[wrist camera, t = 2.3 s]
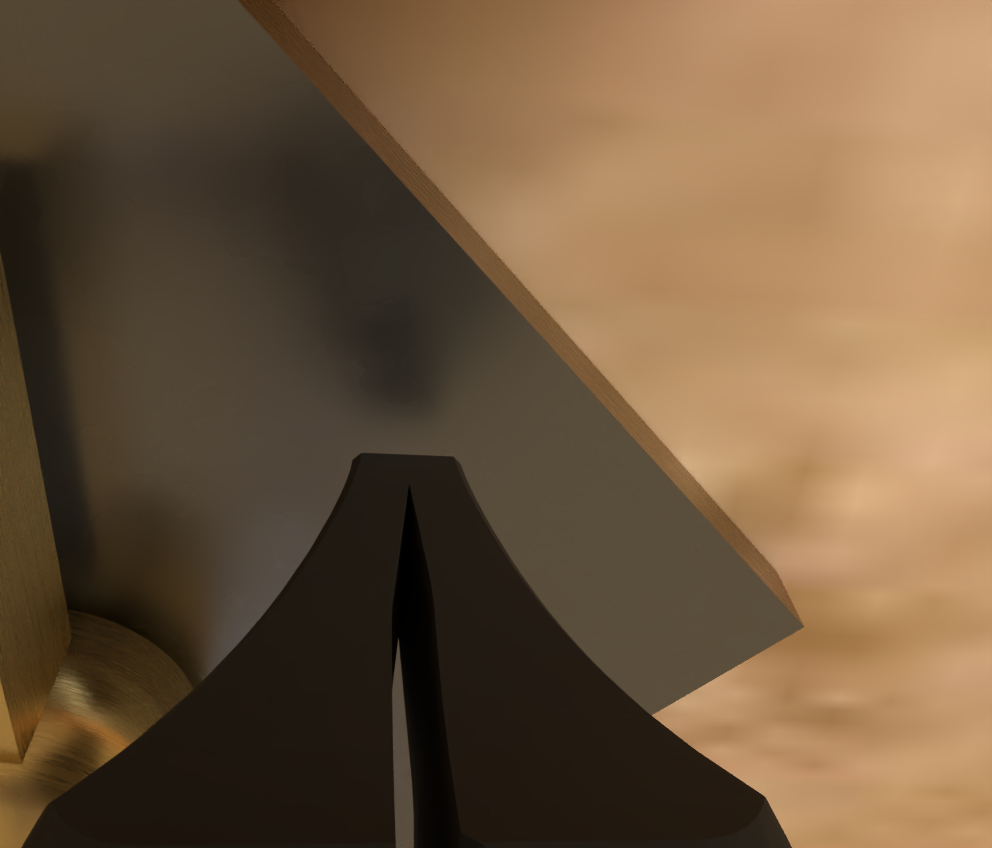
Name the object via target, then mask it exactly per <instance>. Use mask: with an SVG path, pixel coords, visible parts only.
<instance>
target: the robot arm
mask: <svg viewBox="0 0 992 848" xmlns="http://www.w3.org/2000/svg"><path fill="white" fill-rule="evenodd" d="M398 638H399V650H400V661H401V672H402V683H403V694H404V704H405V715H406V725H407V736H408V747H409V757H410V768H411V779H412V794H413V813H414V848H792V847H791V845H790V843H789V841H788V839H787V837H786V835H785V833H784V831H783V829H782V827H781V826H780V824H779V822H778V820H777V818H776V816H775V814H774V812H773V811H772V809H771V807H770V805H769V803H768V801H767V799H766V798H765V797H764V796H763V795H762V794H760V793H759V792H757V791H756V790H754V789H753V788H751V787H750V786H748V785H747V784H745V783H744V782H742V781H741V780H739V779H738V778H736V777H735V776H733V775H732V774H730V773H729V772H727V771H726V770H724V769H723V768H721V767H720V766H718V765H717V764H715V763H714V762H713V761H711V760H710V759H708V758H707V757H705V756H704V755H702V754H701V753H699V752H698V751H696V750H695V749H694V748H692V747H691V746H690V745H688V744H687V743H686V742H684V741H683V740H682V739H681V738H679V737H678V736H677V735H675V734H674V733H673V732H672V731H670V730H669V729H668V728H666V727H665V726H664V725H663V724H661V723H660V722H659V721H658V720H656V719H655V718H654V717H653V716H651V715H650V714H649V713H648V712H647V711H645V710H644V709H643V708H642V707H641V706H640V705H639V704H638V703H637V702H636V701H634V700H633V699H632V698H631V697H630V696H629V695H628V694H627V693H626V692H625V691H623V690H622V689H621V688H620V687H619V686H618V685H617V684H616V683H615V682H614V681H612V680H611V679H610V678H609V677H608V676H607V675H606V674H605V673H604V672H603V671H602V670H601V669H600V668H599V667H598V666H597V665H596V664H595V663H594V662H593V661H592V660H591V659H590V658H589V657H588V655H587V654H586V653H585V652H584V651H583V650H582V649H581V648H580V647H579V646H578V645H577V644H576V642H575V641H574V640H573V639H572V638H571V637H570V636H569V635H568V633H567V632H566V631H565V630H564V629H563V628H562V627H561V625H560V624H559V623H558V622H557V621H556V619H555V618H554V617H553V616H552V614H551V613H550V612H549V611H548V609H547V608H546V607H545V606H544V604H543V603H542V602H541V600H540V599H539V598H538V596H537V595H536V594H535V592H534V591H533V589H532V588H531V587H530V585H529V584H528V583H527V581H526V580H525V579H524V577H523V576H522V574H521V573H520V571H519V570H518V568H517V567H516V565H515V564H514V562H513V561H512V559H511V558H510V556H509V555H508V553H507V551H506V550H505V548H504V547H503V545H502V543H501V542H500V540H499V539H498V537H497V535H496V534H495V532H494V531H493V529H492V527H491V525H490V524H489V522H488V520H487V518H486V517H485V515H484V513H483V511H482V509H481V507H480V505H479V504H478V502H477V500H476V498H475V496H474V494H473V492H472V490H471V488H470V485H469V483H468V481H467V479H466V476H465V474H464V472H463V469H462V466H461V464H460V463H459V462H458V461H457V460H456V459H455V457H454V456H432V455H407V454H382V453H361V454H359V455H358V456H357V457H355V458H354V459H353V460H352V464H351V469H350V472H349V475H348V477H347V480H346V483H345V485H344V487H343V490H342V492H341V494H340V496H339V498H338V500H337V502H336V504H335V506H334V508H333V510H332V512H331V514H330V516H329V518H328V519H327V521H326V523H325V525H324V526H323V528H322V530H321V532H320V533H319V535H318V537H317V538H316V540H315V542H314V544H313V545H312V547H311V549H310V550H309V552H308V553H307V555H306V556H305V558H304V559H303V561H302V562H301V564H300V565H299V566H298V568H297V569H296V571H295V572H294V574H293V575H292V577H291V578H290V579H289V581H288V582H287V584H286V585H285V587H284V588H283V590H282V591H281V592H280V594H279V595H278V596H277V598H276V599H275V600H274V601H273V603H272V604H271V605H270V607H269V608H268V609H267V610H266V612H265V613H264V614H263V615H262V617H261V618H260V619H259V620H258V621H257V623H256V624H255V625H254V626H253V627H252V628H251V630H250V631H249V632H248V633H247V634H246V635H245V637H244V638H243V639H242V640H241V641H240V642H239V643H238V644H237V646H236V647H235V648H234V649H233V650H232V651H231V652H230V653H229V654H228V655H227V656H226V657H225V658H224V659H223V660H222V661H221V662H220V663H219V664H218V665H217V666H216V668H215V669H214V670H213V671H212V672H211V673H210V674H209V675H208V676H207V677H206V678H205V679H204V680H203V681H202V682H201V683H200V684H199V685H198V686H197V687H195V688H194V689H193V690H192V691H191V692H190V693H189V694H188V695H187V696H186V697H185V698H184V699H182V700H181V701H180V702H179V703H178V704H177V705H175V706H174V707H173V708H172V709H171V710H170V711H169V712H167V713H166V714H165V715H164V716H163V717H162V718H160V719H159V720H158V721H157V722H156V723H155V724H153V725H152V726H151V727H150V728H149V729H148V730H147V731H145V732H144V733H143V734H142V735H141V736H140V737H138V738H137V739H136V740H135V741H134V742H132V743H131V744H130V745H129V746H127V747H126V748H125V749H123V750H122V751H121V752H120V753H118V754H117V755H116V756H114V757H113V758H111V759H110V760H109V761H107V762H106V763H105V764H103V765H102V766H100V767H99V768H98V769H96V770H95V771H94V772H92V773H91V774H89V775H88V776H87V777H85V778H84V779H83V780H81V781H80V782H78V783H77V784H76V785H74V786H73V787H71V788H70V789H69V790H67V791H66V792H65V793H63V794H62V795H60V796H59V797H58V798H56V799H55V800H53V801H52V802H50V803H49V804H47V806H46V807H45V809H44V811H43V812H42V814H41V815H40V817H39V818H38V820H37V822H36V823H35V825H34V827H33V828H32V830H31V832H30V834H29V835H28V837H27V839H26V840H25V842H24V844H23V845H22V847H21V848H396V833H395V804H394V766H393V711H392V688H393V680H394V671H395V663H396V654H397V646H398Z"/></svg>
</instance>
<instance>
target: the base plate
mask: <svg viewBox="0 0 992 848" xmlns="http://www.w3.org/2000/svg"><path fill="white" fill-rule="evenodd" d="M0 249H1V255H2V260H3V265H4V271H5V276H6V282H7V287H8V292H9V298H10V303H11V309H12V314H13V319H14V325H15V330H16V336H17V341H18V346H19V352H20V357H21V363H22V368H23V373H24V379H25V384H26V390H27V395H28V400H29V406H30V411H31V417H32V422H33V427H34V433H35V438H36V444H37V449H38V454H39V460H40V465H41V471H42V476H43V481H44V487H45V492H46V498H47V503H48V508H49V514H50V519H51V525H52V530H53V535H54V541H55V546H56V552H57V557H58V562H59V568H60V573H61V579H62V584H63V589H64V595H65V600H66V606H67V609H71V610H76V611H80V612H84V613H88V614H92V615H95V616H98V617H101V618H104V619H107V620H110V621H113V622H115V623H117V624H120V625H122V626H124V627H126V628H128V629H131V630H133V631H134V632H136V633H138V634H139V635H141V636H143V637H145V638H146V639H148V640H149V641H151V642H152V643H153V644H155V645H156V646H158V647H159V648H160V649H162V650H163V651H164V652H165V653H166V654H167V655H168V656H169V657H170V658H171V659H172V660H174V661H175V663H176V664H177V665H178V666H179V668H180V669H181V670H182V671H183V672H184V674H185V675H186V677H187V679H188V680H189V682H190V684H191V685H192V688H193V689H194V688H195V687H197V686H198V685H199V684H200V683H201V682H202V681H203V680H204V679H205V678H206V677H207V676H208V675H209V674H210V673H211V672H212V671H213V670H214V669H215V668H216V666H217V665H218V664H219V663H220V662H221V661H222V660H223V659H224V658H225V657H226V656H227V655H228V654H229V653H230V652H231V651H232V650H233V649H234V648H235V647H236V646H237V644H238V643H239V642H240V641H241V640H242V639H243V638H244V637H245V635H246V634H247V633H248V632H249V631H250V630H251V628H252V627H253V626H254V625H255V624H256V623H257V621H258V620H259V619H260V618H261V617H262V615H263V614H264V613H265V612H266V610H267V609H268V608H269V607H270V605H271V604H272V603H273V601H274V600H275V599H276V598H277V596H278V595H279V594H280V592H281V591H282V590H283V588H284V587H285V585H286V584H287V582H288V581H289V579H290V578H291V577H292V575H293V574H294V572H295V571H296V569H297V568H298V566H299V565H300V564H301V562H302V561H303V559H304V558H305V556H306V555H307V553H308V552H309V550H310V549H311V547H312V545H313V544H314V542H315V540H316V538H317V537H318V535H319V533H320V532H321V530H322V528H323V526H324V525H325V523H326V521H327V519H328V518H329V516H330V514H331V512H332V510H333V508H334V506H335V504H336V502H337V500H338V498H339V496H340V494H341V492H342V490H343V487H344V485H345V483H346V480H347V477H348V475H349V472H350V469H351V464H352V460H353V459H354V458H355V457H357V456H358V455H359V454H361V453H382V454H407V455H432V456H454V457H455V459H456V460H457V461H458V462H459V463H460V464H461V466H462V469H463V472H464V474H465V476H466V479H467V481H468V483H469V485H470V488H471V490H472V492H473V494H474V496H475V498H476V500H477V502H478V504H479V505H480V507H481V509H482V511H483V513H484V515H485V517H486V518H487V520H488V522H489V524H490V525H491V527H492V529H493V531H494V532H495V534H496V535H497V537H498V539H499V540H500V542H501V543H502V545H503V547H504V548H505V550H506V551H507V553H508V555H509V556H510V558H511V559H512V561H513V562H514V564H515V565H516V567H517V568H518V570H519V571H520V573H521V574H522V576H523V577H524V579H525V580H526V581H527V583H528V584H529V585H530V587H531V588H532V589H533V591H534V592H535V594H536V595H537V596H538V598H539V599H540V600H541V602H542V603H543V604H544V606H545V607H546V608H547V609H548V611H549V612H550V613H551V614H552V616H553V617H554V618H555V619H556V621H557V622H558V623H559V624H560V625H561V627H562V628H563V629H564V630H565V631H566V632H567V633H568V635H569V636H570V637H571V638H572V639H573V640H574V641H575V642H576V644H577V645H578V646H579V647H580V648H581V649H582V650H583V651H584V652H585V653H586V654H587V655H588V657H589V658H590V659H591V660H592V661H593V662H594V663H595V664H596V665H597V666H598V667H599V668H600V669H601V670H602V671H603V672H604V673H605V674H606V675H607V676H608V677H609V678H610V679H611V680H612V681H614V682H615V683H616V684H617V685H618V686H619V687H620V688H621V689H622V690H623V691H625V692H626V693H627V694H628V695H629V696H630V697H631V698H632V699H633V700H634V701H636V702H637V703H638V704H639V705H640V706H641V707H642V708H643V709H644V710H645V711H647V712H648V713H649V714H650V715H653V714H655V713H656V712H658V711H660V710H661V709H663V708H665V707H667V706H668V705H670V704H672V703H674V702H675V701H677V700H679V699H680V698H682V697H684V696H686V695H687V694H689V693H691V692H693V691H694V690H696V689H698V688H699V687H701V686H703V685H705V684H706V683H708V682H710V681H712V680H713V679H715V678H717V677H718V676H720V675H722V674H724V673H725V672H727V671H729V670H731V669H732V668H734V667H736V666H737V665H739V664H741V663H743V662H744V661H746V660H748V659H750V658H751V657H753V656H755V655H756V654H758V653H760V652H762V651H763V650H765V649H767V648H769V647H770V646H772V645H774V644H775V643H777V642H779V641H781V640H782V639H784V638H786V637H788V636H789V635H791V634H793V633H794V632H796V631H798V630H800V629H801V628H803V627H804V625H803V623H802V621H801V619H800V617H799V615H798V613H797V611H796V609H795V607H794V605H793V603H792V601H791V599H790V597H789V595H788V593H787V591H786V589H785V587H784V585H783V583H782V581H781V579H780V577H779V575H778V573H777V572H776V570H775V569H774V568H773V567H772V566H771V565H770V564H769V563H768V561H767V560H766V559H765V558H764V557H763V556H762V555H761V553H760V552H759V551H758V550H757V549H756V548H755V547H754V546H753V544H752V543H751V542H750V541H749V540H748V539H747V538H746V537H745V535H744V534H743V533H742V532H741V531H740V530H739V529H738V527H737V526H736V525H735V524H734V523H733V522H732V521H731V520H730V518H729V517H728V516H727V515H726V514H725V513H724V512H723V511H722V509H721V508H720V507H719V506H718V505H717V504H716V503H715V501H714V500H713V499H712V498H711V497H710V496H709V495H708V494H707V492H706V491H705V490H704V489H703V488H702V487H701V486H700V485H699V483H698V482H697V481H696V480H695V479H694V478H693V477H692V475H691V474H690V473H689V472H688V471H687V470H686V469H685V468H684V466H683V465H682V464H681V463H680V462H679V461H678V460H677V459H676V457H675V456H674V455H673V454H672V453H671V452H670V451H669V449H668V448H667V447H666V446H665V445H664V444H663V443H662V442H661V440H660V439H659V438H658V437H657V436H656V435H655V434H654V433H653V431H652V430H651V429H650V428H649V427H648V426H647V425H646V423H645V422H644V421H643V420H642V419H641V418H640V417H639V416H638V414H637V413H636V412H635V411H634V410H633V409H632V408H631V406H630V405H629V404H628V403H627V402H626V401H625V400H624V399H623V397H622V396H621V395H620V394H619V393H618V392H617V391H616V390H615V388H614V387H613V386H612V385H611V384H610V383H609V382H608V380H607V379H606V378H605V377H604V376H603V375H602V374H601V373H600V371H599V370H598V369H597V368H596V367H595V366H594V365H593V364H592V362H591V361H590V360H589V359H588V358H587V357H586V356H585V354H584V353H583V352H582V351H581V350H580V349H579V348H578V347H577V345H576V344H575V343H574V342H573V341H572V340H571V339H570V338H569V336H568V335H567V334H566V333H565V332H564V331H563V330H562V328H561V327H560V326H559V325H558V324H557V323H556V322H555V321H554V319H553V318H552V317H551V316H550V315H549V314H548V313H547V312H546V310H545V309H544V308H543V307H542V306H541V305H540V304H539V302H538V301H537V300H536V299H535V298H534V297H533V296H532V295H531V293H530V292H529V291H528V290H527V289H526V288H525V287H524V286H523V284H522V283H521V282H520V281H519V280H518V279H517V278H516V276H515V275H514V274H513V273H512V272H511V271H510V270H509V269H508V267H507V266H506V265H505V264H504V263H503V262H502V261H501V259H500V258H499V257H498V256H497V255H496V254H495V253H494V252H493V250H492V249H491V248H490V247H489V246H488V245H487V244H486V243H485V241H484V240H483V239H482V238H481V237H480V236H479V235H478V233H477V232H476V231H475V230H474V229H473V228H472V227H471V226H470V224H469V223H468V222H467V221H466V220H465V219H464V218H463V217H462V215H461V214H460V213H459V212H458V211H457V210H456V209H455V207H454V206H453V205H452V204H451V203H450V202H449V201H448V200H447V198H446V197H445V196H444V195H443V194H442V193H441V192H440V191H439V189H438V188H437V187H436V186H435V185H434V184H433V183H432V181H431V180H430V179H429V178H428V177H427V176H426V175H425V174H424V172H423V171H422V170H421V169H420V168H419V167H418V166H417V165H416V163H415V162H414V161H413V160H412V159H411V158H410V157H409V155H408V154H407V153H406V152H405V151H404V150H403V149H402V148H401V146H400V145H399V144H398V143H397V142H396V141H395V140H394V139H393V137H392V136H391V135H390V134H389V133H388V132H387V131H386V129H385V128H384V127H383V126H382V125H381V124H380V123H379V122H378V120H377V119H376V118H375V117H374V116H373V115H372V114H371V112H370V111H369V110H368V109H367V108H366V107H365V106H364V105H363V103H362V102H361V101H360V100H359V99H358V98H357V97H356V96H355V94H354V93H353V92H352V91H351V90H350V89H349V88H348V86H347V85H346V84H345V83H344V82H343V81H342V80H341V79H340V77H339V76H338V75H337V74H336V73H335V72H334V71H333V70H332V68H331V67H330V66H329V65H328V64H327V63H326V62H325V60H324V59H323V58H322V57H321V56H320V55H319V54H318V53H317V51H316V50H315V49H314V48H313V47H312V46H311V45H310V44H309V42H308V41H307V40H306V39H305V38H304V37H303V36H302V34H301V33H300V32H299V31H298V30H297V29H296V28H295V27H294V25H293V24H292V23H291V22H290V21H289V20H288V19H287V18H286V16H285V15H284V14H283V13H282V12H281V11H280V10H279V8H278V7H277V6H276V5H275V4H274V3H273V2H272V1H271V0H0ZM392 711H393V766H394V804H395V833H396V848H414V813H413V794H412V779H411V768H410V757H409V747H408V736H407V725H406V715H405V704H404V694H403V683H402V672H401V661H400V650H399V638H398V646H397V654H396V663H395V671H394V680H393V688H392Z"/></svg>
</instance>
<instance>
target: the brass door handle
mask: <svg viewBox="0 0 992 848" xmlns="http://www.w3.org/2000/svg"><path fill="white" fill-rule="evenodd" d="M192 690H193V688H192V685H191V684H190V682H189V680H188V679H187V677H186V675H185V674H184V672H183V671H182V670H181V669H180V668H179V666H178V665H177V664H176V663H175V661H174V660H172V659H171V658H170V657H169V656H168V655H167V654H166V653H165V652H164V651H163V650H162V649H160V648H159V647H158V646H156V645H155V644H153V643H152V642H151V641H149V640H148V639H146V638H145V637H143V636H141V635H139V634H138V633H136V632H134V631H133V630H131V629H128V628H126V627H124V626H122V625H120V624H117V623H115V622H113V621H110V620H107V619H104V618H101V617H98V616H95V615H92V614H88V613H84V612H80V611H76V610H71V609H67V606H66V600H65V595H64V589H63V584H62V579H61V573H60V568H59V562H58V557H57V552H56V546H55V541H54V535H53V530H52V525H51V519H50V514H49V508H48V503H47V498H46V492H45V487H44V481H43V476H42V471H41V465H40V460H39V454H38V449H37V444H36V438H35V433H34V427H33V422H32V417H31V411H30V406H29V400H28V395H27V390H26V384H25V379H24V373H23V368H22V363H21V357H20V352H19V346H18V341H17V336H16V330H15V325H14V319H13V314H12V309H11V303H10V298H9V292H8V287H7V282H6V276H5V271H4V265H3V260H2V255H1V249H0V848H21V847H22V845H23V844H24V842H25V840H26V839H27V837H28V835H29V834H30V832H31V830H32V828H33V827H34V825H35V823H36V822H37V820H38V818H39V817H40V815H41V814H42V812H43V811H44V809H45V807H46V806H47V804H49V803H50V802H52V801H53V800H55V799H56V798H58V797H59V796H60V795H62V794H63V793H65V792H66V791H67V790H69V789H70V788H71V787H73V786H74V785H76V784H77V783H78V782H80V781H81V780H83V779H84V778H85V777H87V776H88V775H89V774H91V773H92V772H94V771H95V770H96V769H98V768H99V767H100V766H102V765H103V764H105V763H106V762H107V761H109V760H110V759H111V758H113V757H114V756H116V755H117V754H118V753H120V752H121V751H122V750H123V749H125V748H126V747H127V746H129V745H130V744H131V743H132V742H134V741H135V740H136V739H137V738H138V737H140V736H141V735H142V734H143V733H144V732H145V731H147V730H148V729H149V728H150V727H151V726H152V725H153V724H155V723H156V722H157V721H158V720H159V719H160V718H162V717H163V716H164V715H165V714H166V713H167V712H169V711H170V710H171V709H172V708H173V707H174V706H175V705H177V704H178V703H179V702H180V701H181V700H182V699H184V698H185V697H186V696H187V695H188V694H189V693H190V692H191V691H192Z"/></svg>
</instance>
